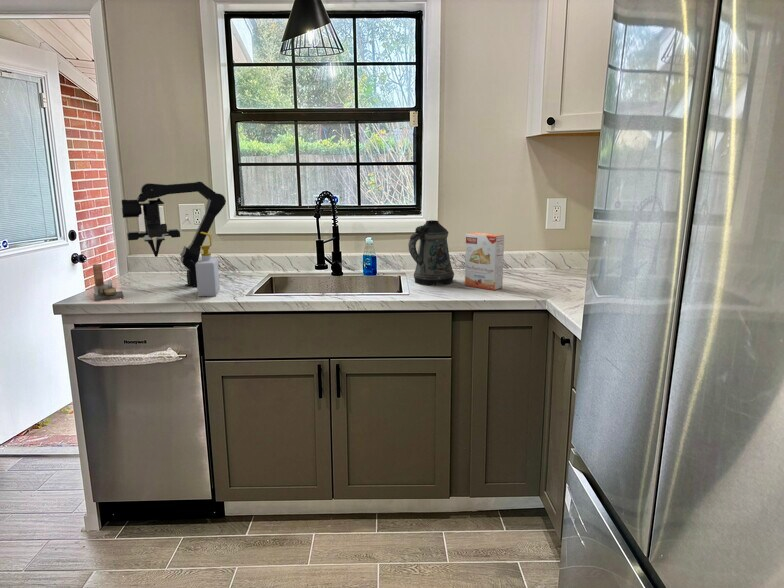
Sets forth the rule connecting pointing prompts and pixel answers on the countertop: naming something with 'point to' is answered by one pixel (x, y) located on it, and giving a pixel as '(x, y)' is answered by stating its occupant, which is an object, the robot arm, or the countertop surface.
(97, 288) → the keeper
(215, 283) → the soap bottle
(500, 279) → the cracker box
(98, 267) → the link
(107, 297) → the base plate
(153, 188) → the robot arm
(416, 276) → the beer stein
